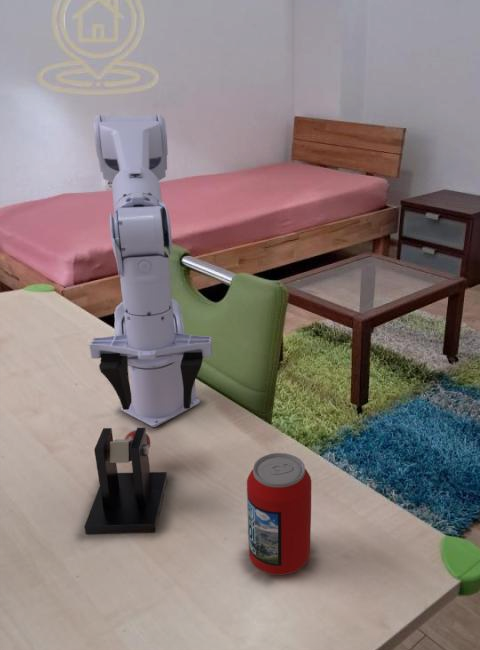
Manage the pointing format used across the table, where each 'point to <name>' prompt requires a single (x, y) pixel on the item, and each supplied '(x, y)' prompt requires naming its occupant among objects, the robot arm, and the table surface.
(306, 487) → the beverage can
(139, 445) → the bracket
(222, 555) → the table surface
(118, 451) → the lever
